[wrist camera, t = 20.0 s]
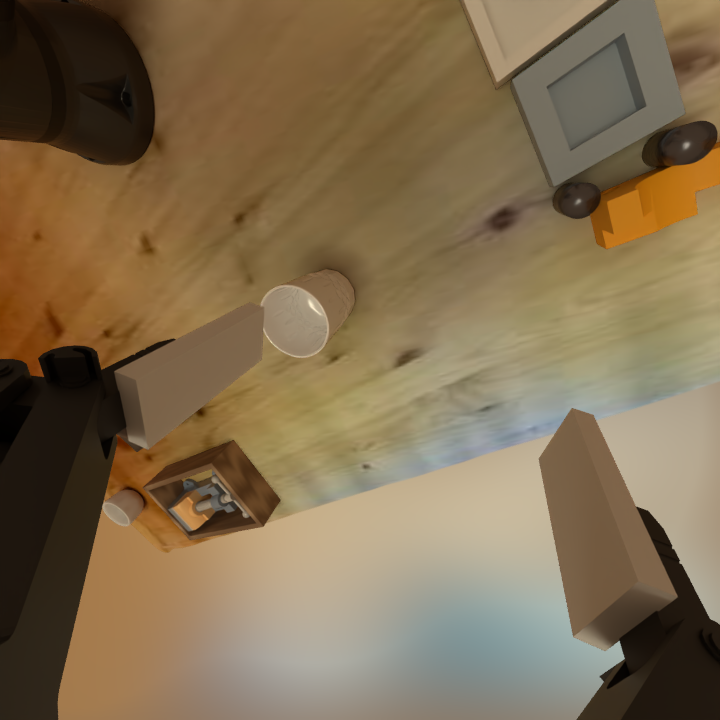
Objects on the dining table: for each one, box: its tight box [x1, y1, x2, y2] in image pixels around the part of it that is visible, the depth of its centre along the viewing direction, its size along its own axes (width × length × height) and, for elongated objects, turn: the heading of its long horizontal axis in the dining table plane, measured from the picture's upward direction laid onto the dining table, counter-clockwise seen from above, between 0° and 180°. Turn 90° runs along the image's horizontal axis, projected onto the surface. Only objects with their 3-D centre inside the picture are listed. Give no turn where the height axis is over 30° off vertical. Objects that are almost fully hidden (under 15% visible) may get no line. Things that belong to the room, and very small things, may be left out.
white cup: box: [260, 269, 355, 358], centre depth 39 cm, size 8×8×10 cm
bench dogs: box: [553, 121, 717, 219], centre depth 28 cm, size 3×10×5 cm, turn 122°
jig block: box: [510, 0, 686, 187], centre depth 27 cm, size 9×9×2 cm
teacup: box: [103, 490, 144, 526], centre depth 82 cm, size 10×8×5 cm
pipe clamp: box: [590, 142, 720, 249], centre depth 26 cm, size 12×4×6 cm, turn 117°
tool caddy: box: [143, 440, 280, 540], centre depth 67 cm, size 15×23×6 cm, turn 122°
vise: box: [167, 471, 250, 531], centre depth 68 cm, size 18×10×7 cm, turn 125°
